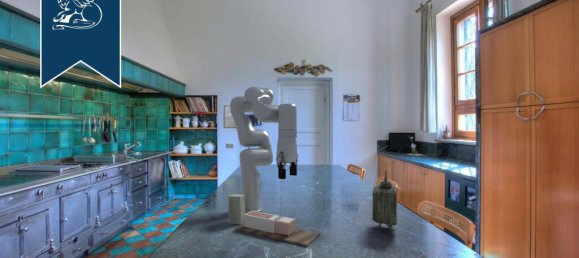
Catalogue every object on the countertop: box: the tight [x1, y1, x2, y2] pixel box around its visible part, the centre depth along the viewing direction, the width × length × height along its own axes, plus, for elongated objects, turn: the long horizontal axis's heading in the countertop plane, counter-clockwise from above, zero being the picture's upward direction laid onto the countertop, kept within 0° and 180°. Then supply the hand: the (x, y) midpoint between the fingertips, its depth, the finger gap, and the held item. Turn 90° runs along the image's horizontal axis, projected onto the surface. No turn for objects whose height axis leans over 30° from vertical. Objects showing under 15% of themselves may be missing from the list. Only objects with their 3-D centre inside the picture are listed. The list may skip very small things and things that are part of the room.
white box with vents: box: [243, 211, 283, 233], centre depth 111 cm, size 15×6×5 cm, turn 62°
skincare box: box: [227, 193, 245, 226], centre depth 119 cm, size 6×4×12 cm
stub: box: [275, 216, 297, 236], centre depth 106 cm, size 6×6×5 cm
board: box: [235, 223, 321, 248], centre depth 108 cm, size 32×12×1 cm, turn 62°
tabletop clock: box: [371, 169, 398, 236], centre depth 112 cm, size 14×9×25 cm, turn 160°
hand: (287, 177), depth 107 cm, fingers open, 9 cm apart
